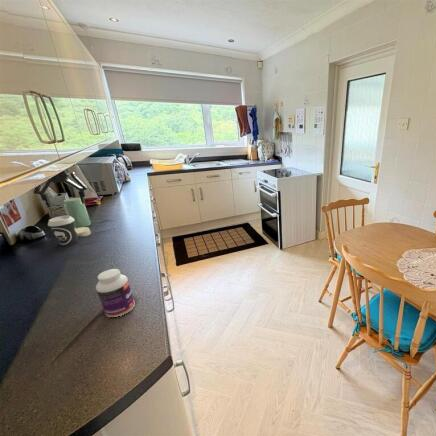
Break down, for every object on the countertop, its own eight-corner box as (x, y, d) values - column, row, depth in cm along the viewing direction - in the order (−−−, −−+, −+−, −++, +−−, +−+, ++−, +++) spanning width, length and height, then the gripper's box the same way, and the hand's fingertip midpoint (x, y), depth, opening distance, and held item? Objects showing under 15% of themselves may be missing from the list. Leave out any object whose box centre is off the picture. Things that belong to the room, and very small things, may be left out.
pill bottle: (136, 312, 76) (125, 275, 70) (106, 323, 71) (91, 285, 66) (134, 298, 82) (124, 263, 76) (106, 307, 77) (93, 271, 72)
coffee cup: (84, 245, 117) (74, 218, 112) (59, 252, 111) (47, 223, 105) (81, 239, 123) (71, 213, 118) (56, 246, 116) (45, 218, 111)
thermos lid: (94, 231, 133) (92, 226, 132) (83, 238, 124) (81, 233, 123) (76, 232, 131) (74, 227, 130) (63, 239, 123) (61, 234, 122)
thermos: (67, 228, 137) (57, 201, 130) (79, 222, 145) (70, 197, 139) (83, 228, 137) (74, 201, 131) (94, 222, 145) (86, 197, 139)
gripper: (86, 161, 122) (98, 199, 129) (20, 163, 110) (37, 205, 118) (83, 163, 116) (95, 203, 123) (12, 166, 104) (31, 210, 112)
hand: (67, 204), depth 121 cm, fingers open, 13 cm apart
